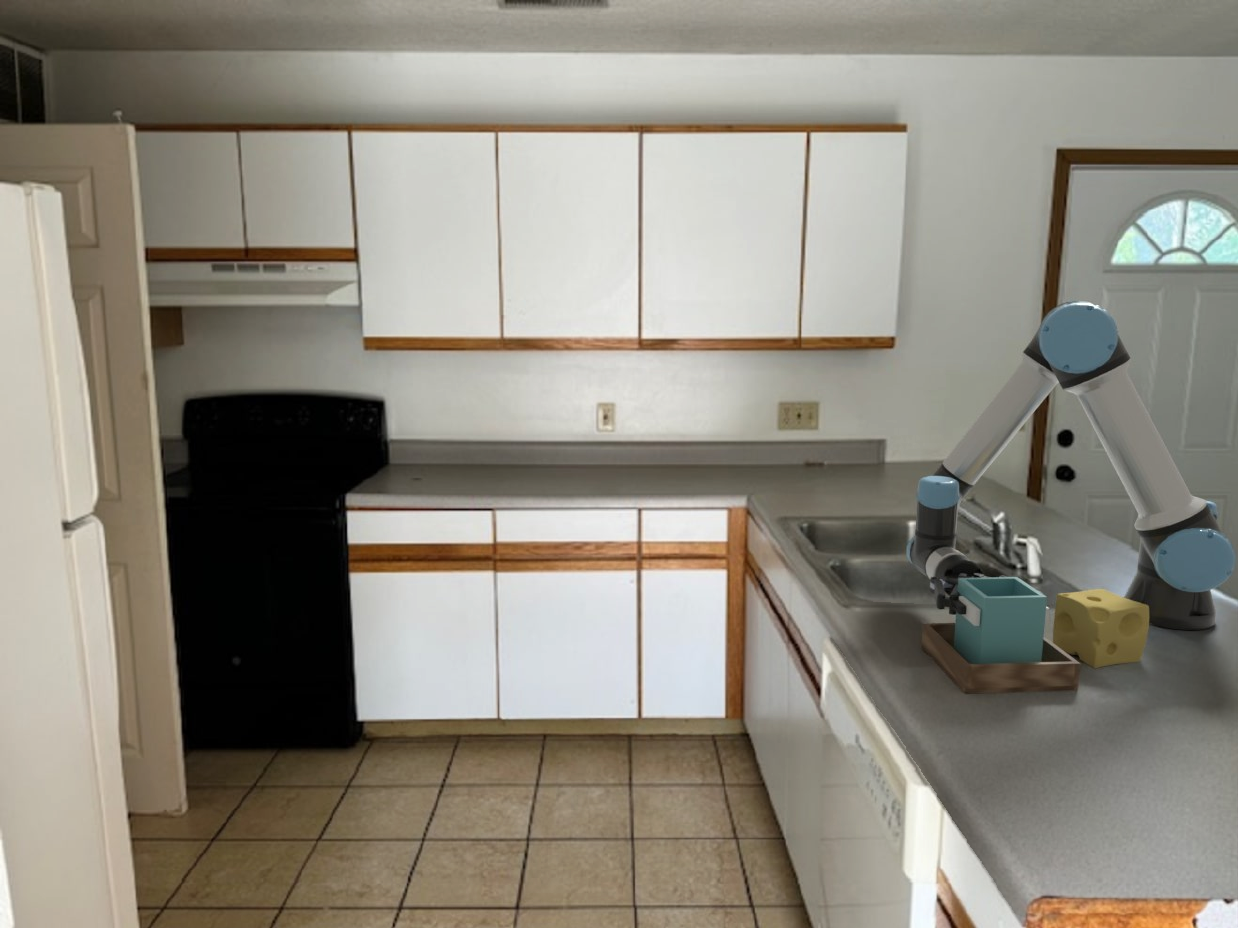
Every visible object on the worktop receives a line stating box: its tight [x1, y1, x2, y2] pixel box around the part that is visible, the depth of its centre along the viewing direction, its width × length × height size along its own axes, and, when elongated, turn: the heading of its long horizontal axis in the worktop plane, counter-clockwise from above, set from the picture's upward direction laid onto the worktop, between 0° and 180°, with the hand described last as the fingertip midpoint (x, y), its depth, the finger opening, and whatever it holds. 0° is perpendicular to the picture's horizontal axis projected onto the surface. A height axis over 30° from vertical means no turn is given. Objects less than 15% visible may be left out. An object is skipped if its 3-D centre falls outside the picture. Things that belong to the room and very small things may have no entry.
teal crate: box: [954, 576, 1048, 664], centre depth 147 cm, size 10×10×12 cm
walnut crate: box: [921, 622, 1081, 694], centre depth 148 cm, size 18×18×4 cm
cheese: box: [1052, 588, 1150, 669], centre depth 154 cm, size 10×11×10 cm
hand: (1012, 617), depth 143 cm, fingers open, 10 cm apart
